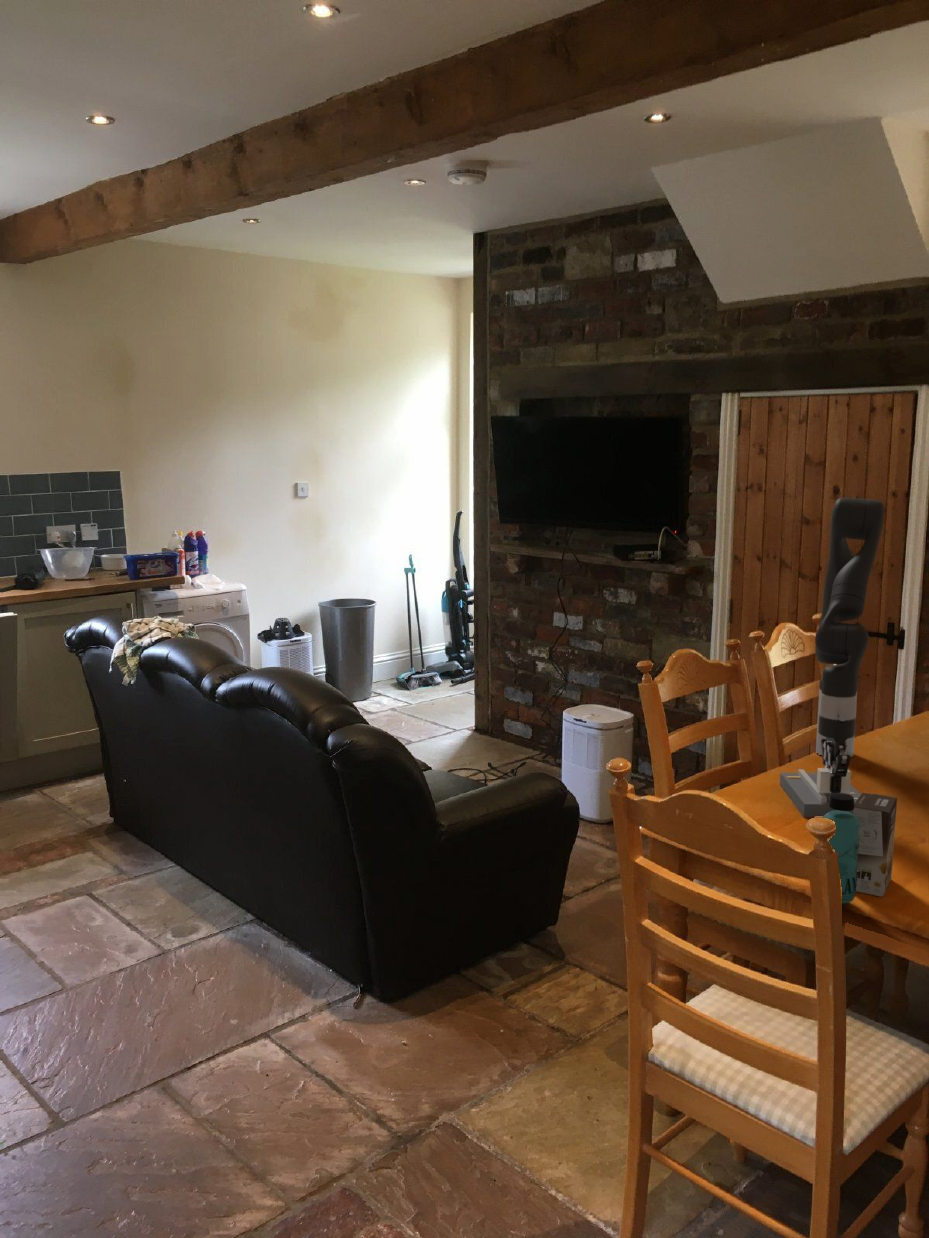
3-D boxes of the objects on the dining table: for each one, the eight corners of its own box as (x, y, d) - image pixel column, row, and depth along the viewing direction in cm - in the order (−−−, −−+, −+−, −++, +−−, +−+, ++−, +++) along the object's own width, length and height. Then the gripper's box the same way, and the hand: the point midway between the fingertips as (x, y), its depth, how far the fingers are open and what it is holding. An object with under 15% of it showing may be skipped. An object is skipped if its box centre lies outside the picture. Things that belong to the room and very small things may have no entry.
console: (779, 784, 238) (780, 767, 237) (839, 785, 237) (840, 768, 236) (803, 817, 217) (804, 798, 216) (869, 818, 216) (870, 799, 215)
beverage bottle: (820, 910, 174) (826, 801, 170) (812, 893, 180) (818, 788, 177) (859, 912, 173) (866, 802, 169) (850, 895, 179) (857, 789, 176)
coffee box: (884, 898, 178) (890, 812, 176) (846, 890, 182) (851, 806, 179) (892, 878, 186) (897, 796, 183) (855, 871, 189) (861, 791, 187)
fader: (815, 795, 221) (817, 767, 220) (845, 796, 221) (846, 767, 220) (819, 800, 218) (821, 772, 217) (849, 800, 218) (851, 772, 217)
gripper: (810, 705, 223) (806, 779, 226) (829, 722, 209) (824, 801, 212) (845, 705, 223) (840, 779, 226) (865, 722, 209) (860, 801, 212)
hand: (833, 789), depth 219 cm, fingers closed on fader, 2 cm apart
